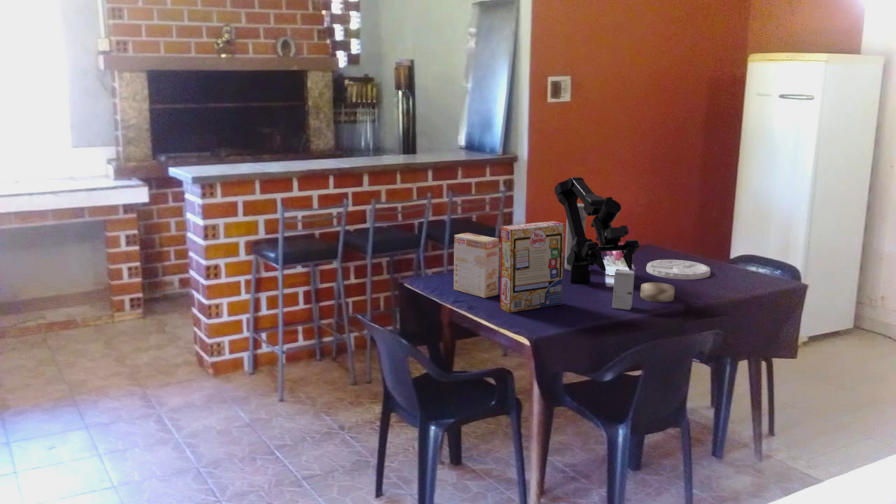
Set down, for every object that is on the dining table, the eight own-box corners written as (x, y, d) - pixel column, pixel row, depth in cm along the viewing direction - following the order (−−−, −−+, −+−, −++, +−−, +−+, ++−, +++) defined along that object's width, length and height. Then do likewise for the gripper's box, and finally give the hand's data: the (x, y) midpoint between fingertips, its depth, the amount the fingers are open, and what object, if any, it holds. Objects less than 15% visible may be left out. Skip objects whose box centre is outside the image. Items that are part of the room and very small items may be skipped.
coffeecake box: (498, 294, 274) (499, 238, 270) (484, 298, 269) (485, 241, 265) (467, 286, 285) (467, 231, 280) (452, 289, 280) (453, 234, 276)
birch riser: (641, 301, 268) (642, 290, 267) (639, 292, 278) (639, 281, 277) (675, 303, 266) (676, 291, 265) (672, 294, 276) (672, 283, 276)
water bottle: (579, 272, 304) (582, 207, 299) (560, 269, 308) (563, 205, 303) (588, 267, 312) (592, 203, 306) (570, 265, 316) (573, 202, 311)
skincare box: (611, 308, 259) (613, 271, 257) (613, 304, 263) (615, 268, 261) (631, 310, 257) (633, 273, 255) (632, 306, 262) (634, 270, 259)
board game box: (552, 300, 268) (555, 220, 262) (563, 305, 262) (566, 223, 256) (498, 308, 259) (500, 225, 253) (509, 313, 253) (511, 229, 247)
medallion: (664, 282, 293) (665, 275, 293) (631, 264, 319) (631, 259, 318) (722, 278, 299) (723, 272, 298) (685, 262, 324) (685, 256, 324)
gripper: (586, 218, 261) (600, 258, 253) (638, 215, 266) (653, 255, 258) (575, 237, 270) (588, 277, 262) (626, 234, 275) (640, 273, 267)
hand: (618, 270), depth 262 cm, fingers open, 9 cm apart
